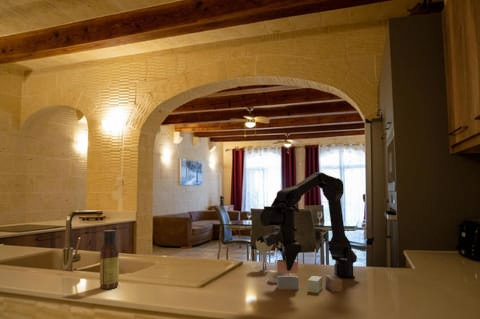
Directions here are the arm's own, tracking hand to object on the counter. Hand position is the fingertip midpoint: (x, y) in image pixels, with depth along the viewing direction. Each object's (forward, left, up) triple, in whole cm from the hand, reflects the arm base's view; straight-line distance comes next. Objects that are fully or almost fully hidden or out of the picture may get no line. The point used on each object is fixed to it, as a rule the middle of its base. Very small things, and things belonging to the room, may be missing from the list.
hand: (287, 269), depth 123 cm
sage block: (-9, +3, -7) cm, 12 cm away
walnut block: (-16, +2, -7) cm, 17 cm away
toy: (+3, -31, -7) cm, 32 cm away
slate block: (0, 0, -7) cm, 7 cm away
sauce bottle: (+63, -6, -7) cm, 64 cm away
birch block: (+1, -10, -7) cm, 12 cm away
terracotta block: (0, 0, -1) cm, 1 cm away
